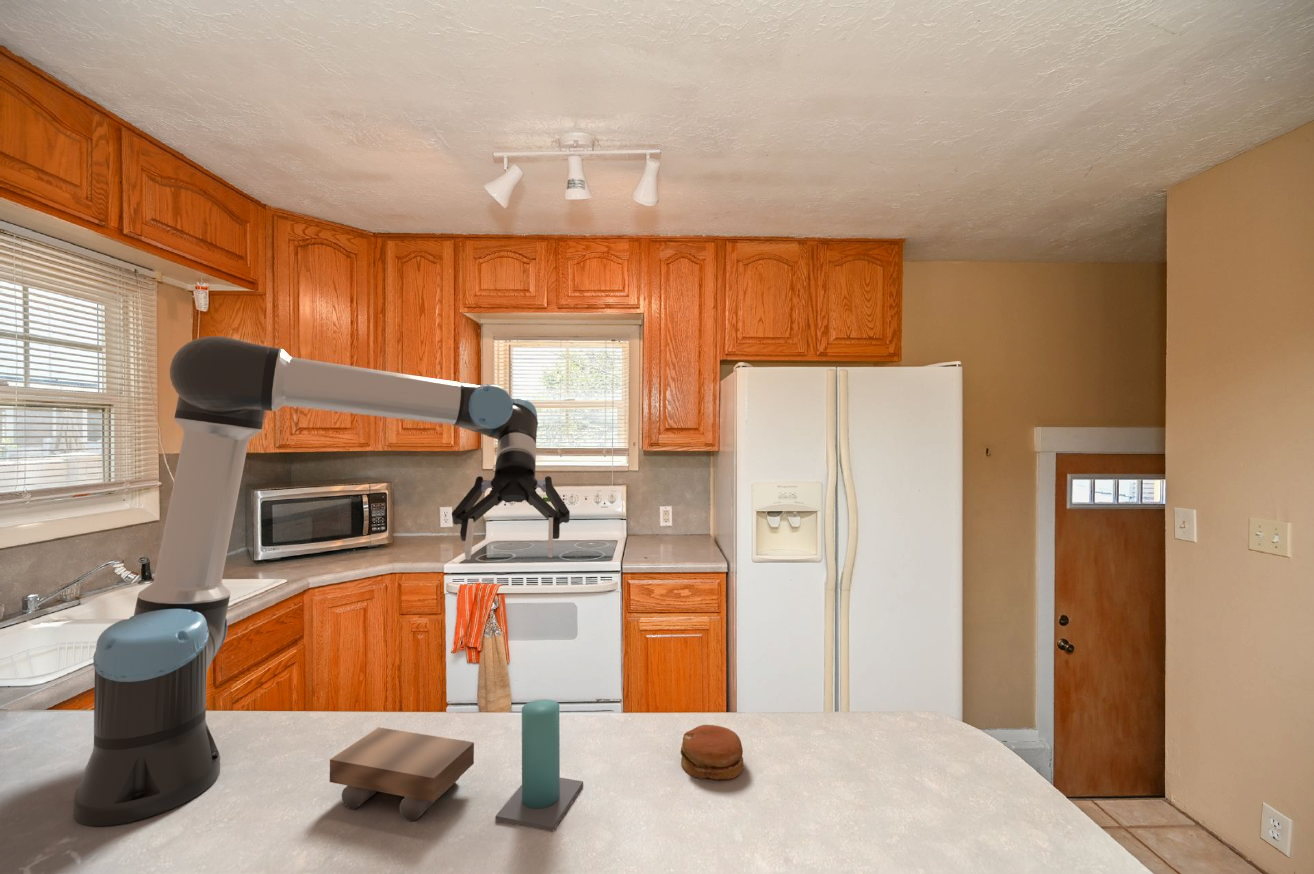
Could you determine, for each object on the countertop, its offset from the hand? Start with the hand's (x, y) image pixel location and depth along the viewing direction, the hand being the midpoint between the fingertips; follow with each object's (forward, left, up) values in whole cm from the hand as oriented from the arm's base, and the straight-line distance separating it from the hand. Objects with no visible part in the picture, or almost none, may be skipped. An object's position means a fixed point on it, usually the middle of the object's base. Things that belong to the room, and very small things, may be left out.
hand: (509, 554), depth 97 cm
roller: (+14, -16, -29) cm, 36 cm away
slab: (-5, -19, -30) cm, 36 cm away
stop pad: (+14, -16, -30) cm, 36 cm away
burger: (+35, -1, -30) cm, 46 cm away
